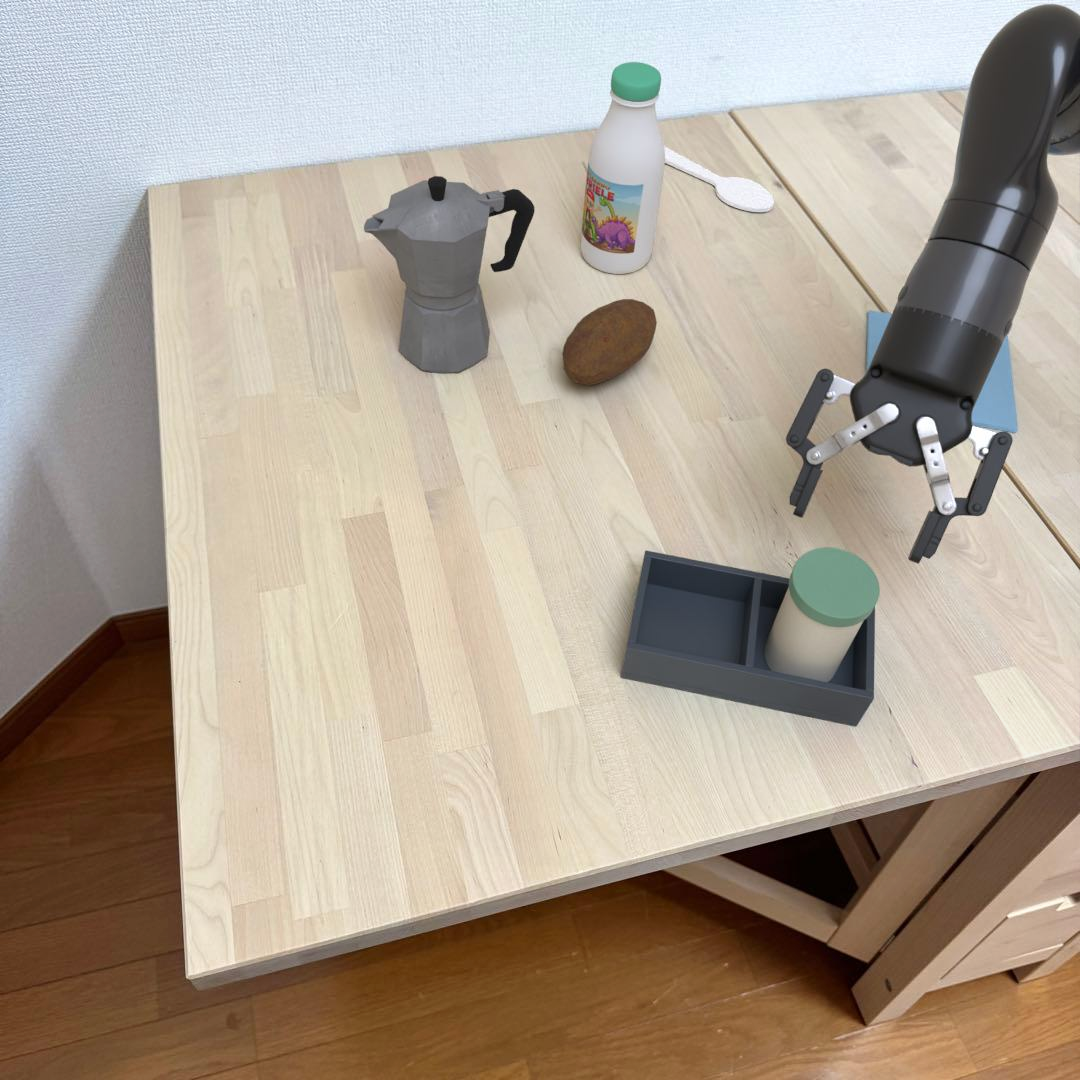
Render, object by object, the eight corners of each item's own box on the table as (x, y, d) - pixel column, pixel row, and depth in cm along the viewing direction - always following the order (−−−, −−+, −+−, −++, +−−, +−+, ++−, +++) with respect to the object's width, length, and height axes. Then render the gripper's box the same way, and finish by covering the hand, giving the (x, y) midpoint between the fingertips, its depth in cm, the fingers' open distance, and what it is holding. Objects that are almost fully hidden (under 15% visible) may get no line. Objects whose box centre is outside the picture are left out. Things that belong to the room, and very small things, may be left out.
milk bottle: (618, 223, 111) (639, 43, 95) (666, 258, 108) (696, 77, 92) (565, 249, 108) (578, 67, 92) (613, 285, 105) (634, 103, 89)
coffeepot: (391, 389, 94) (374, 224, 80) (367, 326, 99) (346, 161, 85) (545, 356, 97) (554, 192, 83) (513, 296, 103) (517, 133, 89)
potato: (541, 384, 95) (544, 327, 90) (610, 322, 101) (617, 265, 95) (599, 416, 93) (605, 360, 87) (666, 352, 99) (676, 295, 93)
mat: (1005, 336, 102) (1007, 333, 102) (1016, 433, 94) (1018, 429, 93) (867, 313, 103) (868, 309, 103) (865, 406, 95) (866, 402, 95)
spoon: (660, 139, 122) (660, 135, 122) (783, 199, 115) (784, 195, 115) (632, 156, 119) (633, 152, 119) (757, 219, 112) (758, 215, 112)
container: (841, 632, 78) (880, 556, 70) (838, 698, 75) (879, 626, 67) (764, 617, 79) (795, 539, 71) (758, 682, 75) (789, 608, 67)
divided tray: (638, 581, 81) (645, 549, 78) (859, 625, 80) (875, 594, 76) (620, 677, 76) (626, 648, 72) (856, 727, 74) (874, 699, 71)
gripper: (1044, 362, 71) (947, 572, 73) (849, 297, 74) (764, 500, 77) (1065, 349, 63) (958, 583, 66) (849, 278, 67) (755, 502, 70)
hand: (854, 538), depth 72 cm, fingers open, 8 cm apart
